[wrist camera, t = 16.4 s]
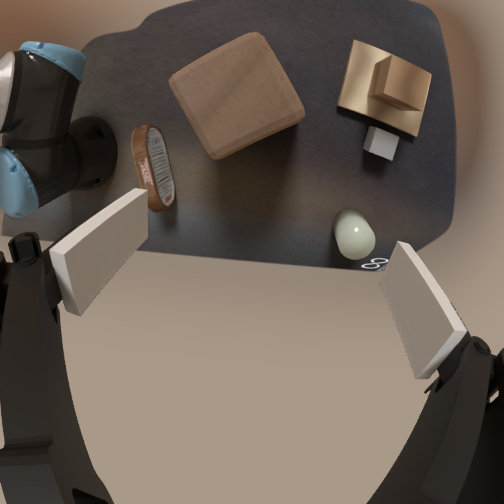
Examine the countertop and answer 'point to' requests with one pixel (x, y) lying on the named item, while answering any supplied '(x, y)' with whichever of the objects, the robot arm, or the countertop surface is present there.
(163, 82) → the countertop surface
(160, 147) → the tin
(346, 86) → the board
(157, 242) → the countertop surface
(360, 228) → the pale green rounded cylinder
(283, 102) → the block
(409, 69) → the walnut block
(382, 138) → the slate cube
